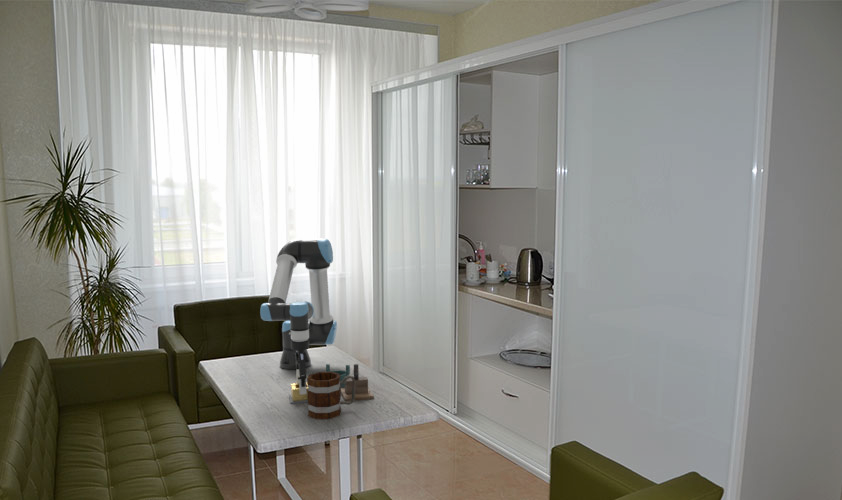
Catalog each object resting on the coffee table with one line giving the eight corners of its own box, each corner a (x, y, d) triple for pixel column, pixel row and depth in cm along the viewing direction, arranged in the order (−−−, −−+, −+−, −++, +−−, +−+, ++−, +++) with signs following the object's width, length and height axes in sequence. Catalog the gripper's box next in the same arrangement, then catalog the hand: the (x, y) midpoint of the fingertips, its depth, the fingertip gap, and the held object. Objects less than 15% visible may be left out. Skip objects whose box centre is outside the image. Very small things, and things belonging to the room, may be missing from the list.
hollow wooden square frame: (291, 395, 281) (290, 383, 280) (310, 393, 283) (309, 382, 282) (292, 401, 273) (292, 389, 273) (312, 399, 275) (312, 387, 275)
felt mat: (288, 396, 281) (288, 394, 281) (312, 393, 284) (312, 392, 284) (290, 403, 272) (290, 402, 272) (315, 401, 275) (315, 400, 275)
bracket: (351, 384, 296) (351, 365, 296) (332, 388, 292) (331, 368, 291) (343, 379, 304) (342, 360, 303) (324, 383, 300) (324, 363, 299)
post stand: (340, 391, 287) (339, 361, 286) (367, 388, 291) (366, 359, 289) (345, 401, 274) (344, 370, 273) (373, 398, 277) (373, 368, 276)
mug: (312, 421, 252) (311, 383, 250) (303, 410, 264) (302, 374, 262) (361, 414, 259) (360, 376, 258) (350, 403, 272) (350, 367, 270)
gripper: (288, 333, 286) (289, 381, 288) (293, 347, 262) (295, 399, 265) (305, 332, 288) (307, 379, 291) (312, 345, 264) (313, 397, 267)
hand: (301, 389), depth 278 cm, fingers open, 13 cm apart
